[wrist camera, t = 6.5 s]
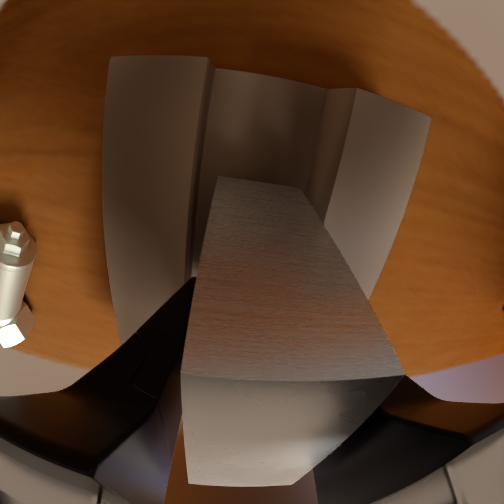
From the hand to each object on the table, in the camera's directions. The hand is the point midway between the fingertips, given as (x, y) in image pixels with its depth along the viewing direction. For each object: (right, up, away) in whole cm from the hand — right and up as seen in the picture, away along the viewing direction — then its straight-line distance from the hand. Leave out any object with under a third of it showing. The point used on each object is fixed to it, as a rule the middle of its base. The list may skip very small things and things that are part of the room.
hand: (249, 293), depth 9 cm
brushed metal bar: (0, +1, +2) cm, 2 cm away
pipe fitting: (-15, +1, +4) cm, 16 cm away
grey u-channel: (0, +2, +4) cm, 5 cm away
